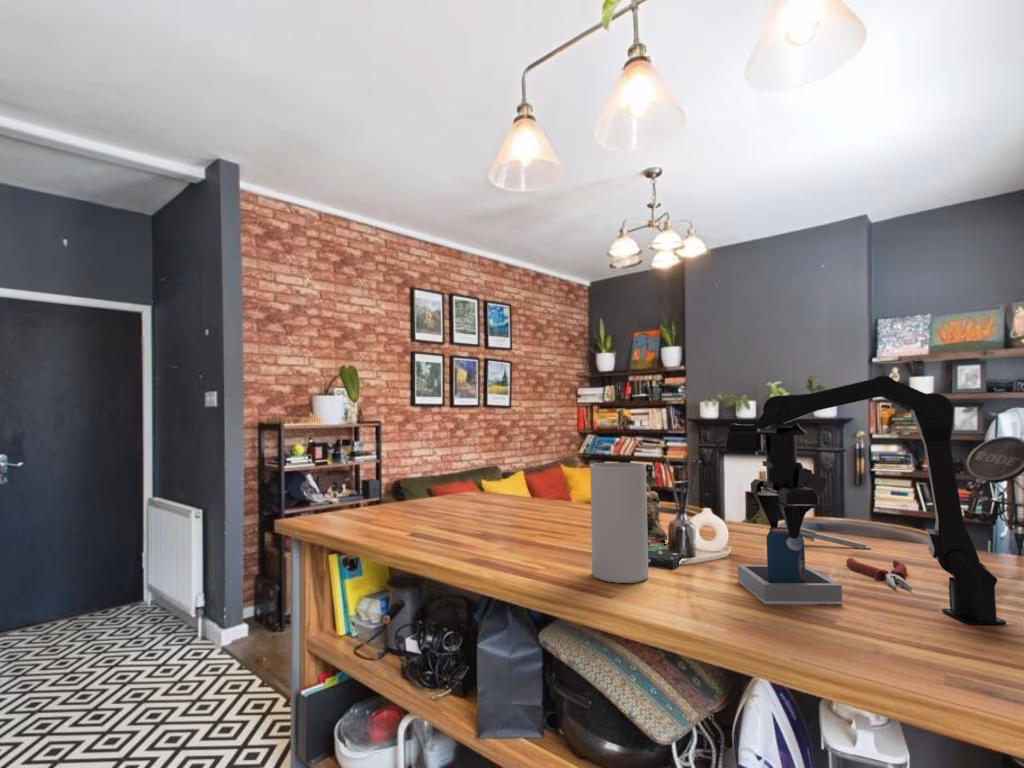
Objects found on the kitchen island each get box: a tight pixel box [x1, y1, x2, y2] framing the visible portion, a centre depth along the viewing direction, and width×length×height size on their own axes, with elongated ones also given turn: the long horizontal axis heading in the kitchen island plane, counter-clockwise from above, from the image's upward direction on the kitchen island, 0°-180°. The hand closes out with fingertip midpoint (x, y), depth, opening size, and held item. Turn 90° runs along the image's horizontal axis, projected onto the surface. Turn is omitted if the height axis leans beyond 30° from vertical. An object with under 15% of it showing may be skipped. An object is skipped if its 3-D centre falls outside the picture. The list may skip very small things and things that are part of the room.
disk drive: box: [648, 544, 684, 570], centre depth 139 cm, size 10×3×15 cm
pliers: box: [846, 557, 913, 590], centre depth 122 cm, size 12×20×3 cm, turn 163°
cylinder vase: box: [589, 462, 650, 584], centre depth 126 cm, size 12×12×25 cm
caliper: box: [800, 527, 872, 550], centre depth 153 cm, size 20×1×6 cm, turn 69°
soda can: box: [766, 526, 806, 583], centre depth 113 cm, size 7×7×12 cm
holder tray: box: [737, 564, 843, 606], centre depth 113 cm, size 14×14×4 cm
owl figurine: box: [646, 482, 668, 542], centre depth 160 cm, size 18×12×17 cm, turn 158°
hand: (783, 533), depth 114 cm, fingers open, 9 cm apart
